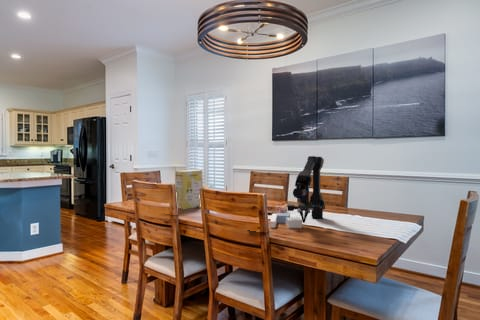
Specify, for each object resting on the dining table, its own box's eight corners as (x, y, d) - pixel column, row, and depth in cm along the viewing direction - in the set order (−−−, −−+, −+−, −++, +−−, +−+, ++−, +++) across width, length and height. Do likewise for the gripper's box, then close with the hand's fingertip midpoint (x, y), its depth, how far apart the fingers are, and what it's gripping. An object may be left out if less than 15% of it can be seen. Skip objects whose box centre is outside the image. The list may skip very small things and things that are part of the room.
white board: (277, 219, 200) (277, 213, 200) (275, 227, 178) (275, 221, 178) (272, 218, 201) (272, 213, 200) (270, 227, 179) (270, 221, 179)
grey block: (299, 224, 186) (299, 217, 186) (302, 228, 178) (302, 220, 178) (285, 225, 186) (285, 217, 186) (288, 228, 178) (288, 220, 178)
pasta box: (194, 204, 254) (193, 169, 253) (202, 206, 247) (202, 170, 246) (175, 207, 240) (175, 171, 239) (184, 209, 233) (183, 171, 232)
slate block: (290, 220, 197) (290, 213, 197) (289, 223, 190) (289, 216, 189) (277, 220, 199) (277, 212, 199) (276, 222, 191) (276, 215, 191)
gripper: (287, 197, 174) (287, 225, 175) (322, 198, 171) (321, 226, 172) (287, 194, 185) (287, 221, 186) (320, 195, 182) (319, 222, 183)
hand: (303, 222), depth 181 cm, fingers closed
